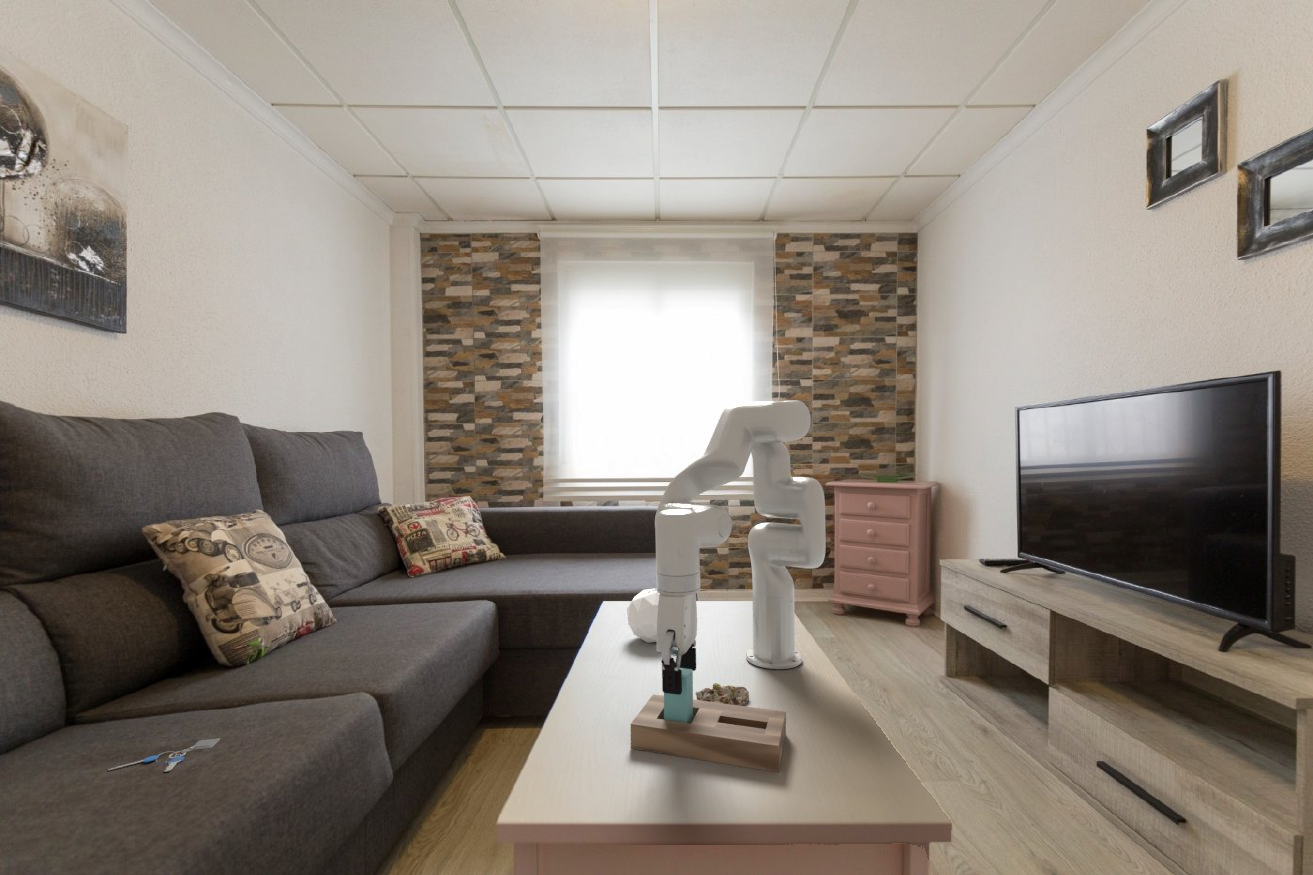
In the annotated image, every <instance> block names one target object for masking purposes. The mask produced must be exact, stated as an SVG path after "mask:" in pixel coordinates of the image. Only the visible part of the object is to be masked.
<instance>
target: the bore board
mask: <svg viewBox="0 0 1313 875" xmlns="http://www.w3.org/2000/svg"><path fill="white" fill-rule="evenodd" d="M786 736H787V712H786V711H783V710H775V709H767V708H760V707H752V706H745V705H744V706H739V705H731V704H723V703H716V702H708V701H700V700H697V699H693V721H692V723H691V724H690V723H683V722H676V721H669V720H664V695H661V694H656V693H655V694H654V693H653V694H652V695H651V696H650V698H649V699H648V700H647V702H646V703H645V704H644V705H643V707H642V708H641V710H639V712H638V713H637V715H636V716H635V718H633V720H632V721H631V723H630V749H633V750H639V751H645V752H651V753H656V754H657V753H658V754H663V755H669V756H675V757H681V758H688V759H693V760H701V761H707V762H713V763H719V764H726V765H729V766H737V767H744V768H750V769H754V770H755V769H756V770H762V771H769V772H772V773H773V772H775V773H779V772H780V769H781V768H780V767H781V762H782V757H783V751H784V747H785V741H786V738H787V737H786Z"/></svg>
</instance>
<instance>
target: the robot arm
mask: <svg viewBox="0 0 1313 875" xmlns="http://www.w3.org/2000/svg"><path fill="white" fill-rule="evenodd" d="M811 417H812V416H811V412H810V410H809V408H808V406H807V405H806V404H805V402H803V401H801V400H799V399H798V400H796V399H795V400H769V401H767V400H765V401H744V402H737V403H736V402H735V403H732V404H730V405H728V406H726V408H724V410H723V411H722V413H721V414H720V416H719V419H718V421H717V424H716V426H715V429H714V431H713V433H712V436H711V437H710V440H709V442H708V444H707V447H706V449H705V452H704V453H703V455H702V456H700V457H699V458H698V459H697V460H695V461H693V462H692V463H690V464H689V465H688V466H687V467H685V468H684V469H682V471H680V472H679V473H678V474H677V475H676V476H675V477H674V478H672V480H671V481H670V482H669V483H668V485H667V487H666V488H665V490H664V493H663V495H662V497H661V500H660V501H659V503H658V506H657V508H656V509H657V510H656V513H655V518H654V528H655V530H654V531H655V533H654V534H655V575H656V577H655V578H656V582H655V583H656V588H657V592H658V593H660V595H659V601H658V613H657V642H656V652H658V653H659V654H661V674H662V675H661V680H662V681H661V684H662V688H661V689H662V692H663V694H664V693H669V694H677V695H680V694H681V693H682V669H679V668H686V669H693V672H695V671H696V670H697V647H696V646H697V645H696V644H697V641H696V639H697V635H698V634H697V633H698V610H697V608H698V607H697V606H698V605H697V595H696V594H698V593H700V592H701V574H700V573H701V569H700V568H701V564H700V563H701V562H700V561H701V560H700V549H701V548H712V547H718V546H720V545H721V544H723V543H725V542H726V541H728V539H729V537H730V536H731V534H732V530H733V521H732V518H731V517H732V516H731V515H730V513H729V511H728V510H726V509H725V508H724V507H722V506H719V505H716V504H709V503H708V504H707V503H697V502H696V503H695V502H692V501H693V500H695V498H696V497H698V496H699V495H701V494H703V493H704V492H707V491H710V490H712V489H715V488H719V487H721V486H723V485H727V484H728V483H731V482H733V481H736V480H738V479H739V478H740V477H742V475H743V474H744V473H745V471H746V467H747V463H748V461H749V458H750V456H751V457H752V469H753V471H752V472H753V473H752V474H753V477H752V478H753V481H752V482H753V502H754V504H753V505H754V509H755V510H756V512H757V513H758V514H759V515H760V516H763V517H768V518H777V519H778V518H779V519H790V520H792V519H793V520H799V523H800V524H793V523H783V522H781V523H780V522H761V523H758V524H756V525H754V526H753V527H751V529H750V531H749V533H748V536H747V547H748V553H749V557H750V558H749V559H750V563H751V574H752V575H751V577H752V648H749V649H748V650H747V651H746V656H745V657H746V660H747V661H748V662H749V663H750V664H751V665H753V666H757V667H760V668H764V669H770V670H788V669H792V668H796V667H798V666H799V665H801V664H802V662H803V660H802V659H803V658H802V655H801V653H800V652H798V651H797V650H796V649H795V646H796V645H795V643H796V642H795V639H796V638H795V634H796V633H795V629H796V628H795V582H794V580H793V577H792V576H791V574H790V572H789V570H788V569H787V567H792V568H801V569H818V568H819V567H821V565H822V564H823V563H824V560H825V557H826V547H827V546H826V543H827V541H826V540H827V538H826V502H825V493H824V488H823V487H822V484H821V483H820V482H819V481H818V480H817V479H816V478H814V477H809V476H807V477H806V476H805V477H804V476H792V474H791V473H792V472H791V455H790V451H789V450H788V447H787V446H786V445H785V443H790V442H795V441H798V440H802V439H803V438H804V437H806V436H807V434H808V432H809V430H810V427H811V419H812V418H811ZM676 649H677V650H676ZM672 656H673V657H672ZM674 657H676V658H675V659H674Z"/></svg>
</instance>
